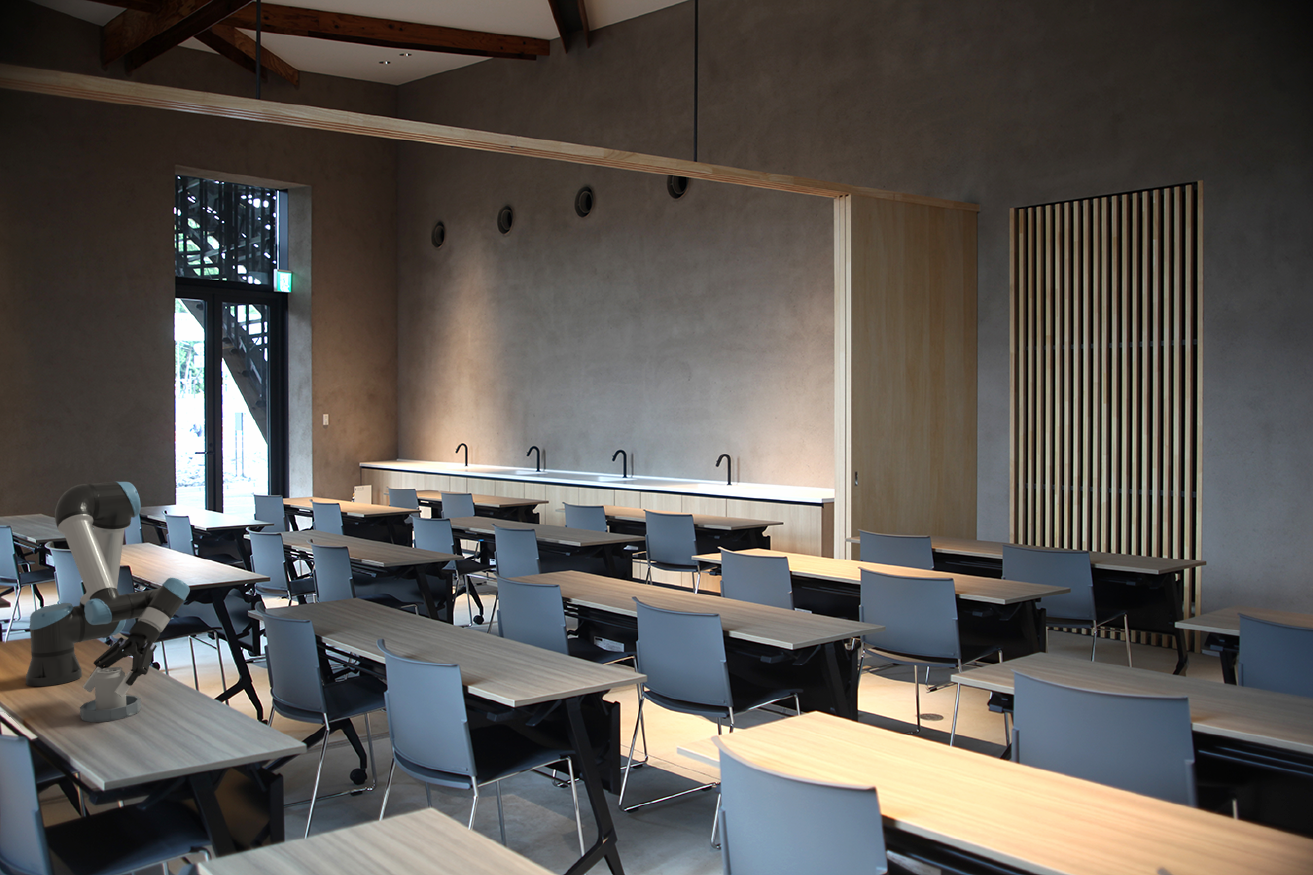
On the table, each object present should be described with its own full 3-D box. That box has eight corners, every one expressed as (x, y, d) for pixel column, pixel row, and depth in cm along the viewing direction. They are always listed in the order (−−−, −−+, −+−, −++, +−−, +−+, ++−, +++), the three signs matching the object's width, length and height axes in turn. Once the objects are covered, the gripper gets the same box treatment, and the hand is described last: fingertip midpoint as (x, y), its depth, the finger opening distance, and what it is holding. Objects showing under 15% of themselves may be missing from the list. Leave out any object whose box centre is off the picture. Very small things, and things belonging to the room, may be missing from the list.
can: (117, 715, 272) (115, 672, 272) (90, 716, 273) (88, 672, 272) (132, 707, 280) (130, 665, 280) (105, 707, 280) (104, 665, 280)
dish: (75, 714, 276) (74, 703, 276) (131, 702, 286) (130, 692, 286) (89, 725, 266) (88, 714, 266) (147, 713, 276) (146, 702, 276)
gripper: (186, 637, 284) (141, 704, 271) (129, 630, 295) (83, 694, 282) (169, 622, 279) (122, 690, 266) (111, 616, 290) (64, 680, 277)
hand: (102, 692), depth 274 cm, fingers open, 13 cm apart
